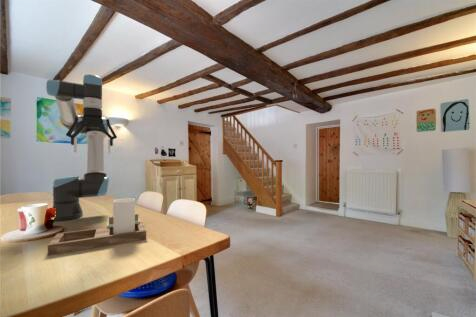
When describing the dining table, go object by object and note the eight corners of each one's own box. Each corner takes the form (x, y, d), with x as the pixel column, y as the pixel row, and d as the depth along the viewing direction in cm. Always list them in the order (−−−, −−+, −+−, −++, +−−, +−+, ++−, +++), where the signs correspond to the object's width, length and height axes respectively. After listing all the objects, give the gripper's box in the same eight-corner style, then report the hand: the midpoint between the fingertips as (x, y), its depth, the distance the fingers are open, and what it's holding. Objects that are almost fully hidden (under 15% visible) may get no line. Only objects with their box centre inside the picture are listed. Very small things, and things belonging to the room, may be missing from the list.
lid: (108, 220, 106) (108, 212, 106) (137, 216, 113) (137, 209, 113) (107, 227, 95) (107, 218, 95) (139, 223, 101) (139, 215, 101)
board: (64, 232, 100) (64, 224, 100) (140, 222, 115) (140, 215, 115) (47, 255, 76) (47, 245, 76) (146, 239, 92) (146, 230, 92)
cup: (138, 234, 98) (138, 198, 98) (127, 241, 90) (127, 202, 90) (121, 233, 99) (121, 198, 99) (108, 240, 90) (108, 201, 90)
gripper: (58, 103, 96) (58, 151, 96) (122, 109, 108) (122, 152, 108) (61, 106, 102) (61, 152, 102) (122, 112, 114) (121, 152, 114)
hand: (92, 152), depth 105 cm, fingers open, 13 cm apart
